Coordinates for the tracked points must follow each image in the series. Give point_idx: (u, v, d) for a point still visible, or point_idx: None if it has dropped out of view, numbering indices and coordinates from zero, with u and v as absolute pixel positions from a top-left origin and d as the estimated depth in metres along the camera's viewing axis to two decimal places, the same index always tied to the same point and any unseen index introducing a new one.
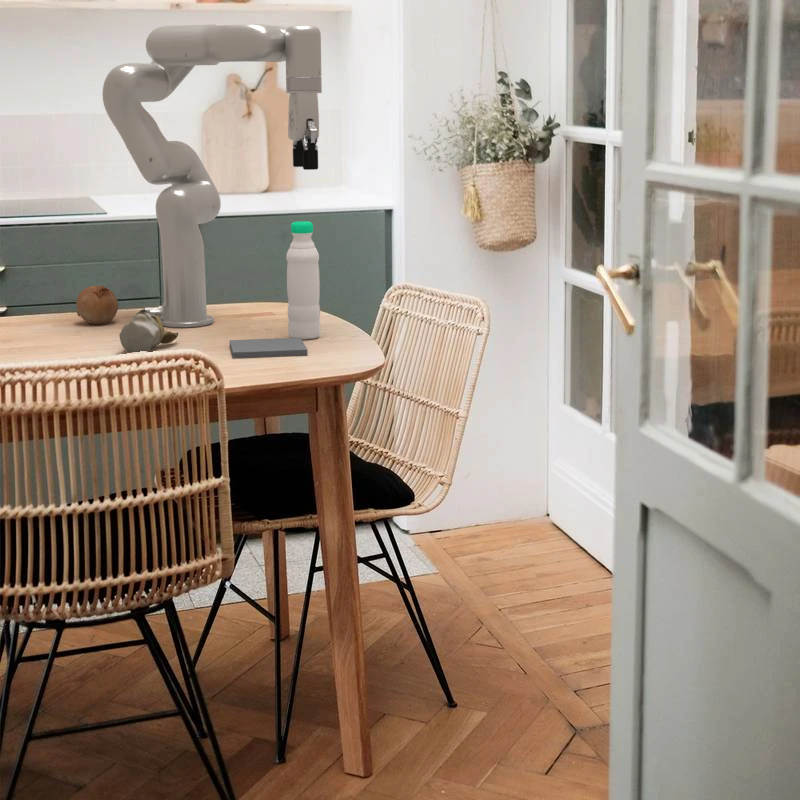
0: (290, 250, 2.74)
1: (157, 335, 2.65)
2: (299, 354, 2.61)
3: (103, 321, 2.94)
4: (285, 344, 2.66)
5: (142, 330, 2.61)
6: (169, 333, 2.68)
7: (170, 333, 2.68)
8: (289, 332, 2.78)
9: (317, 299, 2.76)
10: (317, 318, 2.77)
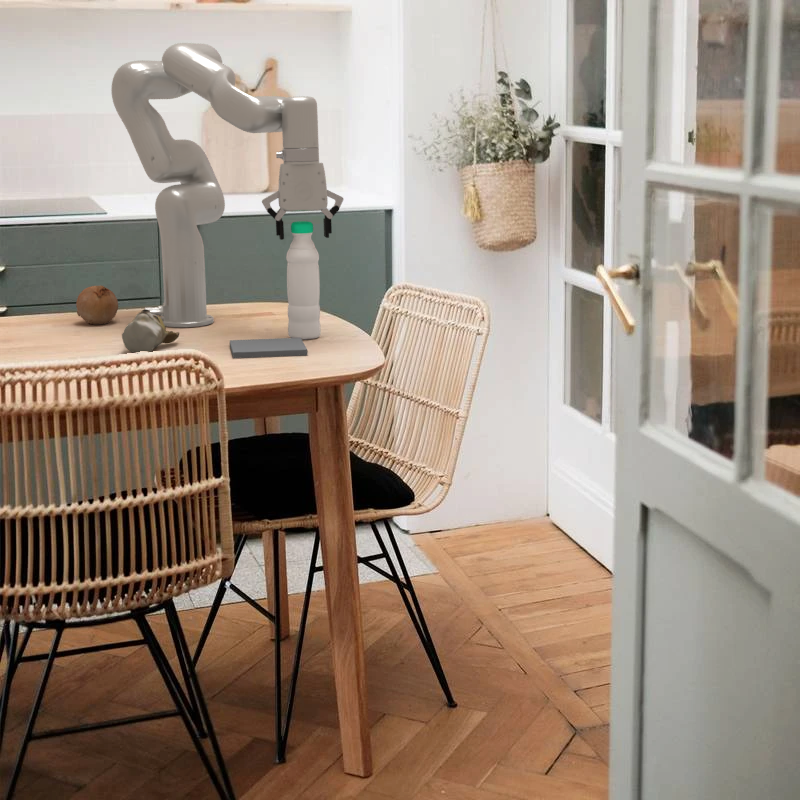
0: (290, 250, 2.74)
1: (159, 334, 2.65)
2: (299, 354, 2.61)
3: (103, 321, 2.94)
4: (285, 344, 2.66)
5: (145, 330, 2.61)
6: (171, 333, 2.69)
7: (172, 333, 2.69)
8: (289, 332, 2.78)
9: (317, 299, 2.76)
10: (317, 318, 2.77)
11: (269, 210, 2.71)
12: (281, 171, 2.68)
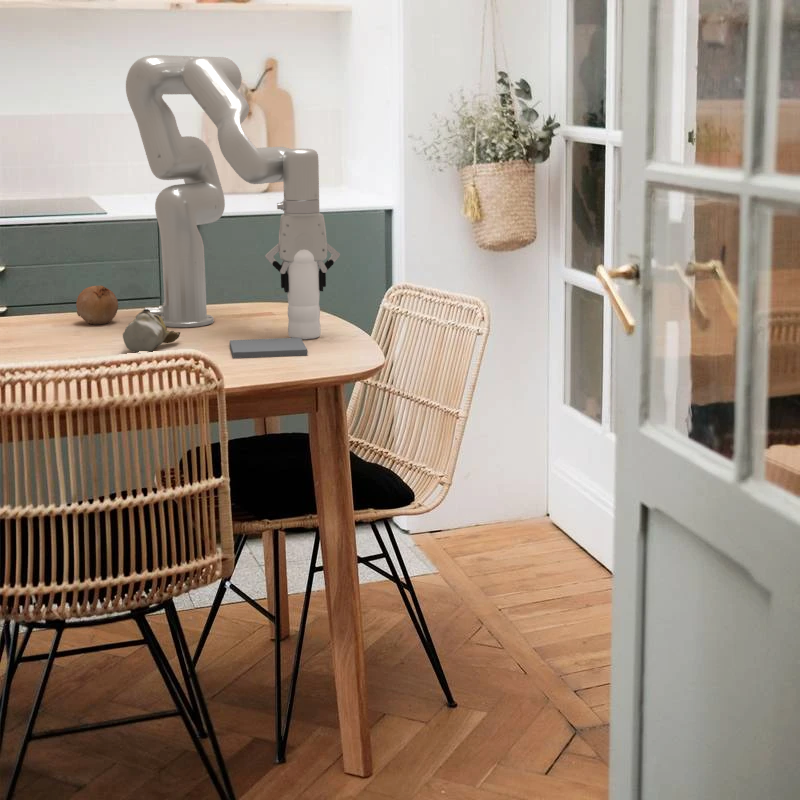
0: None
1: (160, 334, 2.66)
2: (299, 354, 2.61)
3: (103, 321, 2.94)
4: (285, 344, 2.66)
5: (146, 330, 2.61)
6: (172, 332, 2.69)
7: (173, 332, 2.69)
8: (289, 332, 2.78)
9: (317, 299, 2.76)
10: (317, 318, 2.77)
11: (274, 263, 2.74)
12: (282, 222, 2.71)
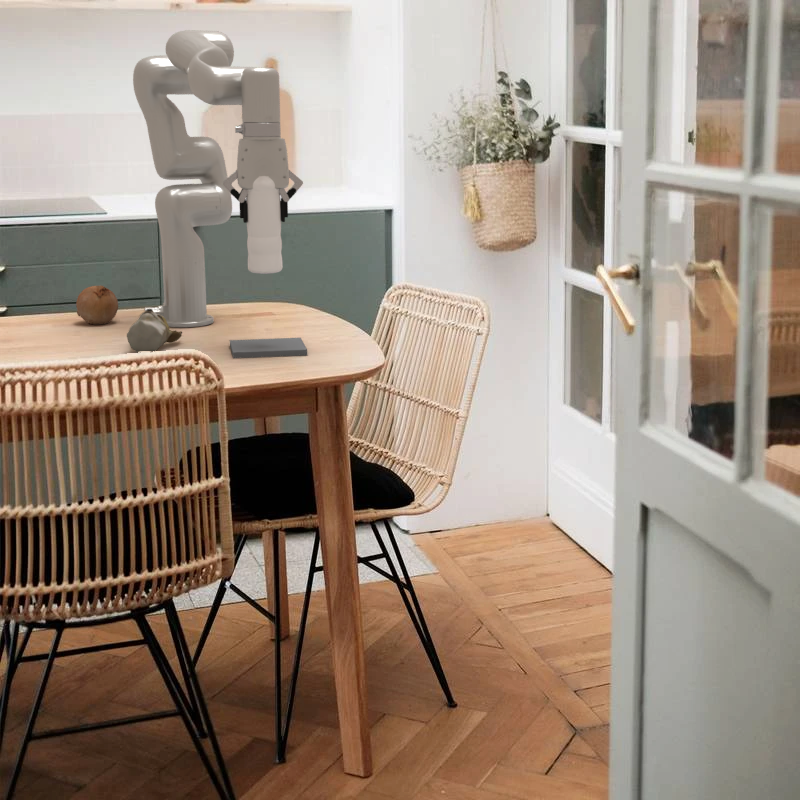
0: None
1: (164, 334, 2.66)
2: (299, 354, 2.61)
3: (103, 321, 2.94)
4: (285, 344, 2.66)
5: (151, 330, 2.62)
6: (175, 332, 2.69)
7: (176, 332, 2.70)
8: (249, 266, 2.60)
9: (278, 230, 2.59)
10: (278, 251, 2.59)
11: (232, 191, 2.56)
12: (240, 146, 2.53)
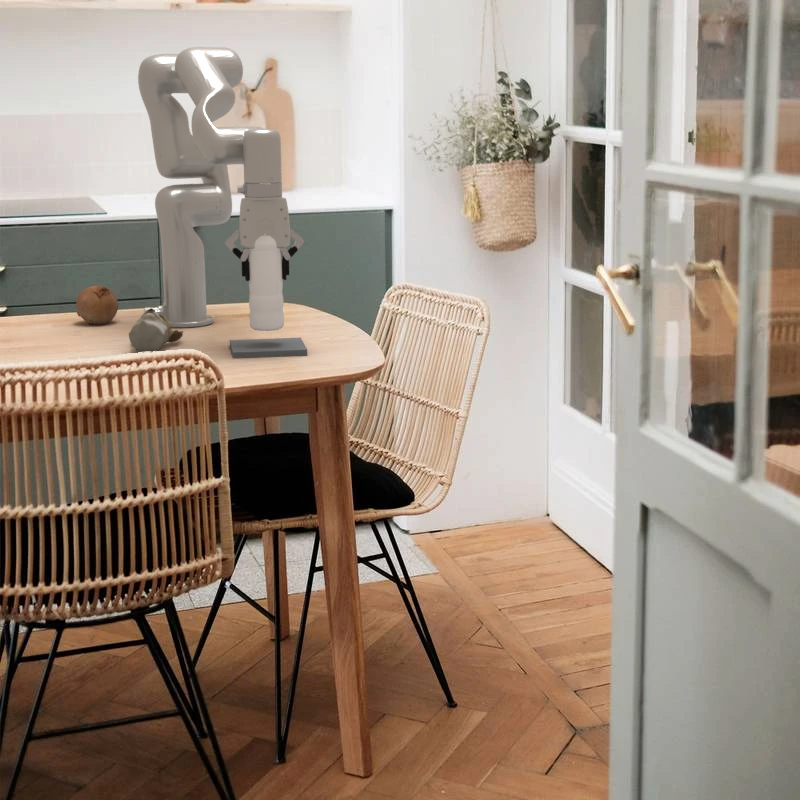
0: None
1: (166, 333, 2.67)
2: (299, 354, 2.61)
3: (103, 321, 2.94)
4: (285, 344, 2.66)
5: (153, 329, 2.62)
6: (176, 332, 2.70)
7: (177, 332, 2.70)
8: (251, 323, 2.63)
9: (280, 288, 2.61)
10: (280, 308, 2.62)
11: (234, 250, 2.59)
12: (242, 206, 2.56)
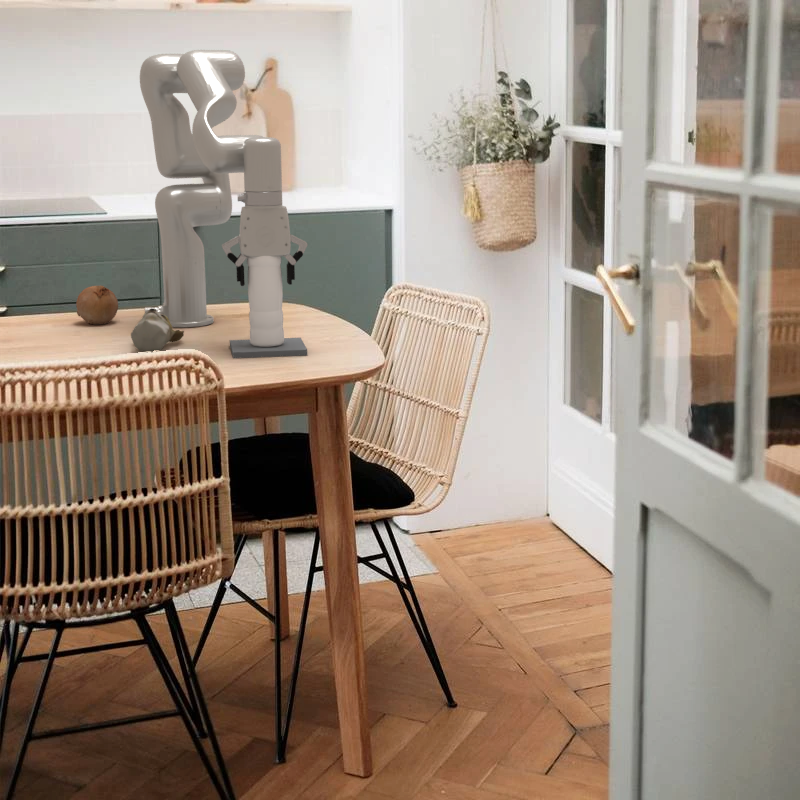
0: None
1: (168, 333, 2.67)
2: (299, 354, 2.61)
3: (103, 321, 2.94)
4: (285, 344, 2.66)
5: (155, 329, 2.62)
6: (178, 331, 2.70)
7: (179, 331, 2.70)
8: (251, 339, 2.64)
9: (280, 304, 2.62)
10: (280, 324, 2.63)
11: (229, 255, 2.59)
12: (242, 215, 2.56)
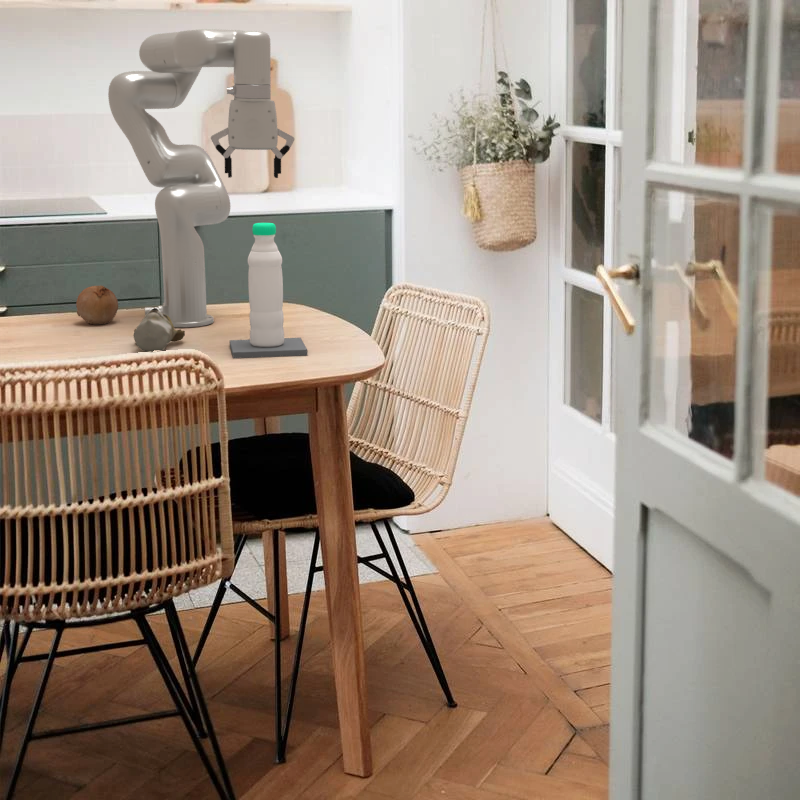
0: (251, 253, 2.59)
1: (170, 333, 2.67)
2: (299, 354, 2.61)
3: (103, 321, 2.94)
4: (285, 344, 2.66)
5: (158, 329, 2.62)
6: (180, 331, 2.70)
7: (180, 331, 2.71)
8: (251, 339, 2.64)
9: (280, 305, 2.62)
10: (280, 325, 2.63)
11: (217, 147, 2.66)
12: (231, 107, 2.63)
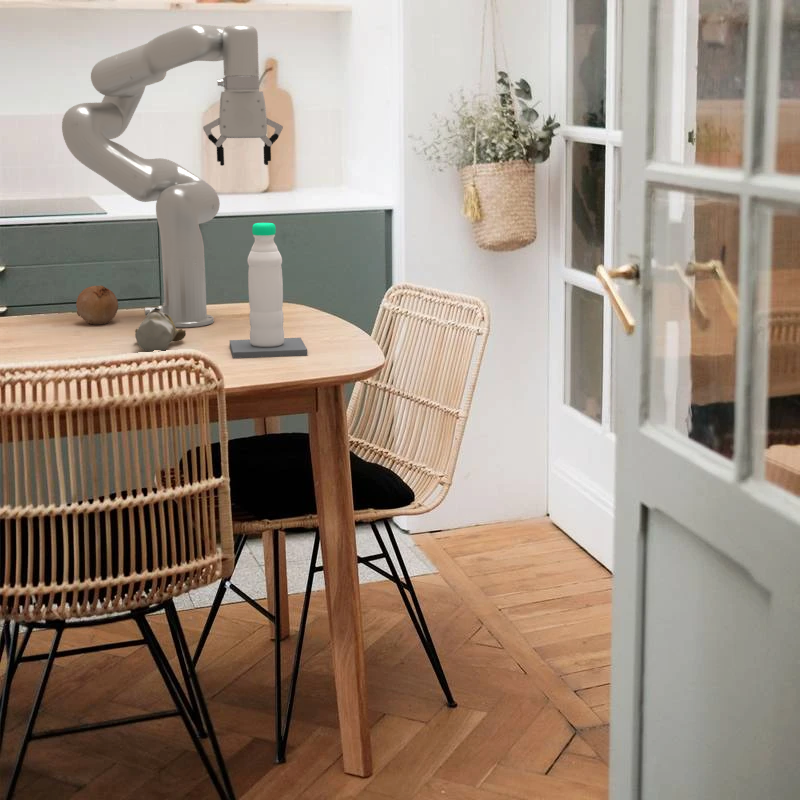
0: (251, 253, 2.59)
1: (172, 332, 2.67)
2: (299, 354, 2.61)
3: (103, 321, 2.94)
4: (285, 344, 2.66)
5: (160, 329, 2.63)
6: (181, 331, 2.71)
7: (182, 331, 2.71)
8: (251, 339, 2.64)
9: (280, 305, 2.62)
10: (280, 325, 2.63)
11: (210, 136, 2.79)
12: (221, 98, 2.77)
